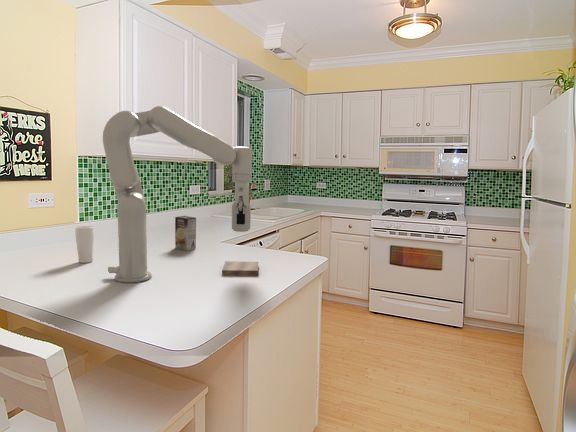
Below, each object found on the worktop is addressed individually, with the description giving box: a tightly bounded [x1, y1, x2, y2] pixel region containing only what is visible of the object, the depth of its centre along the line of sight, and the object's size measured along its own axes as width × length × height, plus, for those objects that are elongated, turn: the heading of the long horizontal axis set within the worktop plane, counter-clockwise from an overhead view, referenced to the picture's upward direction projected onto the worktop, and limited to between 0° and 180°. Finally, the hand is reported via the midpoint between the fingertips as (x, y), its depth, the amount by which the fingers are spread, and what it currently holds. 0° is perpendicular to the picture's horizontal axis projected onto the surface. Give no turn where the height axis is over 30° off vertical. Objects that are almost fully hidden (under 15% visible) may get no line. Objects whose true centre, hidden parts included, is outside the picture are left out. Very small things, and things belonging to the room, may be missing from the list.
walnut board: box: [221, 260, 259, 277], centre depth 157 cm, size 14×14×2 cm
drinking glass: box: [75, 225, 95, 264], centre depth 162 cm, size 7×7×15 cm
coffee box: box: [174, 215, 197, 251], centre depth 195 cm, size 9×6×16 cm
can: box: [231, 200, 252, 233], centre depth 154 cm, size 8×8×12 cm
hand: (241, 222), depth 155 cm, fingers closed on can, 7 cm apart
